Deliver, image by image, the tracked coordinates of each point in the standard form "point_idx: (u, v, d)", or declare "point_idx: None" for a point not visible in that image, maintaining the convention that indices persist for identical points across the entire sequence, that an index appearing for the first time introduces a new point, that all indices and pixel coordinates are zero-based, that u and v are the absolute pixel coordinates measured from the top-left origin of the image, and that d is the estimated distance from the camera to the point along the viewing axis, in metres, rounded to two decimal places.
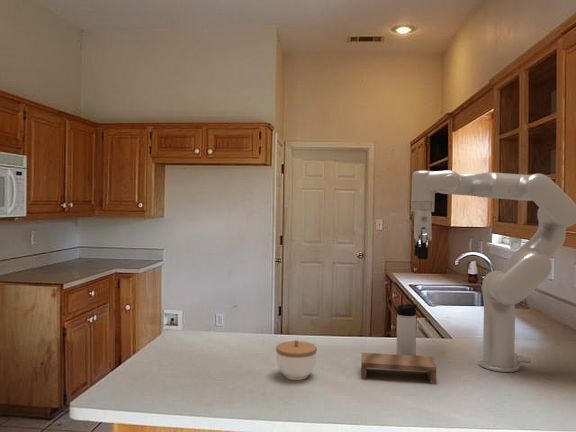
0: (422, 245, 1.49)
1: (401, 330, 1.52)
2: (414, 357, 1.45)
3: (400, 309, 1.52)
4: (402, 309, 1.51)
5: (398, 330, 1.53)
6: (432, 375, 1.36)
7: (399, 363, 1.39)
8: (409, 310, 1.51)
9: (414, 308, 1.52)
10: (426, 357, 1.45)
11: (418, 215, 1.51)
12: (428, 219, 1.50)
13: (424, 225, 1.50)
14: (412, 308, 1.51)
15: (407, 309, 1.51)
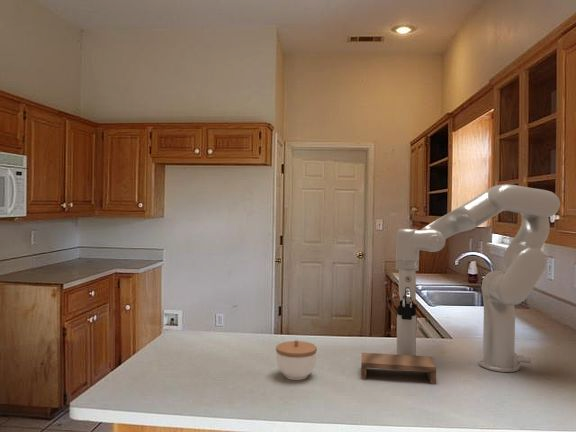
0: (406, 306, 1.48)
1: (401, 330, 1.52)
2: (414, 357, 1.45)
3: (400, 309, 1.52)
4: None
5: (398, 330, 1.53)
6: (432, 375, 1.36)
7: (399, 363, 1.39)
8: None
9: (414, 308, 1.52)
10: (426, 357, 1.45)
11: (402, 275, 1.50)
12: (412, 279, 1.49)
13: (408, 285, 1.49)
14: (412, 308, 1.51)
15: None
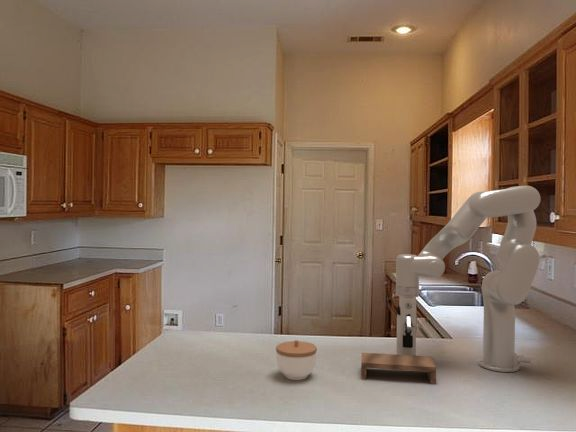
0: (407, 334, 1.49)
1: (401, 330, 1.52)
2: (414, 357, 1.45)
3: None
4: None
5: (398, 330, 1.53)
6: (432, 375, 1.36)
7: (399, 363, 1.39)
8: None
9: None
10: (426, 357, 1.45)
11: (403, 301, 1.50)
12: (413, 306, 1.49)
13: (409, 312, 1.49)
14: None
15: None
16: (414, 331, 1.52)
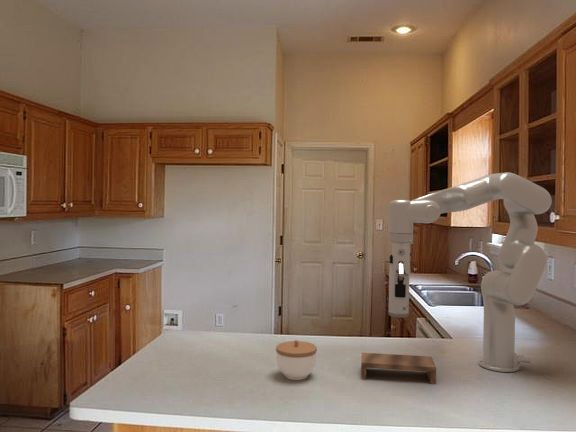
0: (399, 283, 1.40)
1: (393, 279, 1.43)
2: (414, 357, 1.45)
3: (392, 257, 1.44)
4: None
5: (390, 279, 1.44)
6: (432, 375, 1.36)
7: (399, 363, 1.39)
8: None
9: None
10: (426, 357, 1.45)
11: (395, 248, 1.41)
12: (406, 252, 1.40)
13: (401, 259, 1.40)
14: None
15: None
16: (407, 280, 1.43)
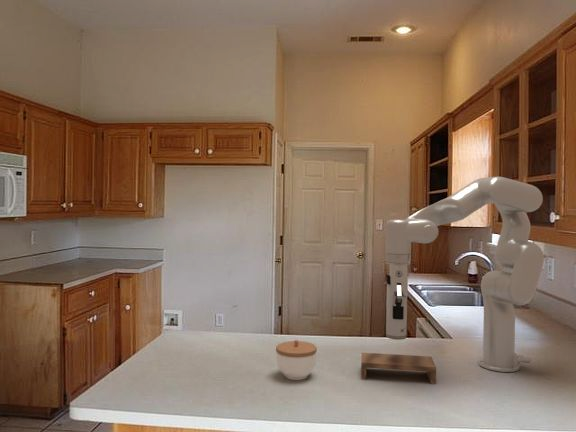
0: (397, 305, 1.38)
1: (391, 301, 1.40)
2: (414, 357, 1.45)
3: None
4: None
5: (388, 301, 1.42)
6: (432, 375, 1.36)
7: (399, 363, 1.39)
8: None
9: None
10: (426, 357, 1.45)
11: (393, 269, 1.38)
12: (403, 274, 1.37)
13: (399, 280, 1.37)
14: None
15: None
16: (405, 302, 1.40)
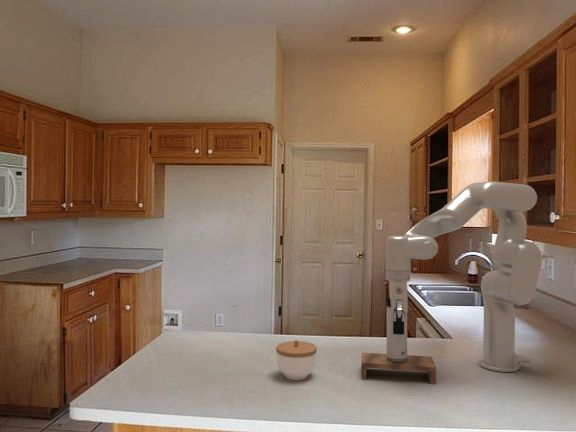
0: (397, 320, 1.36)
1: (391, 323, 1.40)
2: (414, 357, 1.45)
3: (389, 301, 1.41)
4: None
5: (388, 323, 1.42)
6: (432, 375, 1.36)
7: (399, 363, 1.39)
8: None
9: None
10: (426, 357, 1.45)
11: (393, 286, 1.39)
12: (403, 290, 1.38)
13: (399, 297, 1.38)
14: None
15: None
16: (405, 324, 1.40)
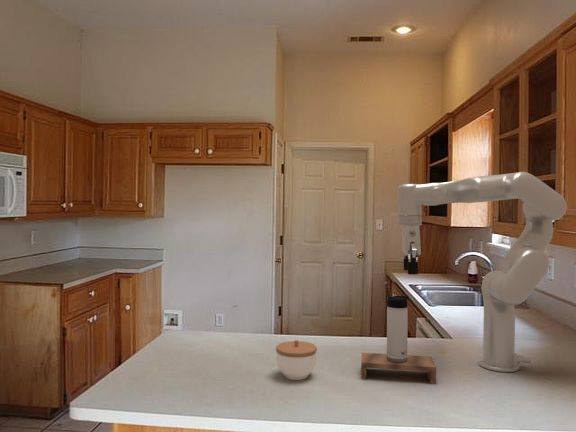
0: (412, 260, 1.46)
1: (391, 323, 1.40)
2: (414, 357, 1.45)
3: (390, 301, 1.41)
4: (392, 301, 1.40)
5: (388, 323, 1.42)
6: (432, 375, 1.36)
7: (399, 363, 1.39)
8: (400, 302, 1.40)
9: (405, 300, 1.40)
10: (426, 357, 1.45)
11: (406, 230, 1.48)
12: (416, 233, 1.47)
13: (413, 240, 1.47)
14: (403, 300, 1.40)
15: (398, 301, 1.40)
16: (405, 324, 1.40)
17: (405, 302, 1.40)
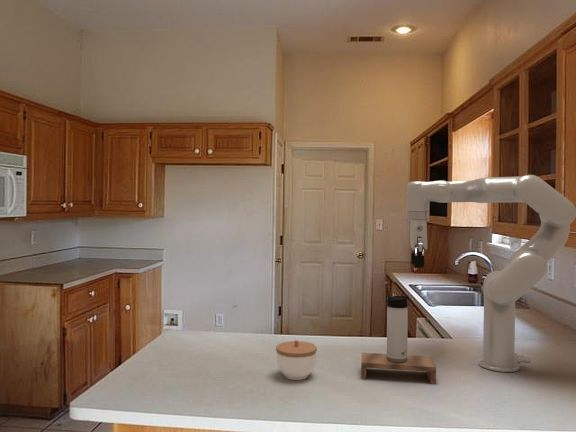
0: (418, 254, 1.53)
1: (392, 323, 1.40)
2: (414, 357, 1.45)
3: (390, 301, 1.41)
4: (392, 301, 1.40)
5: (388, 323, 1.42)
6: (432, 375, 1.36)
7: (399, 363, 1.39)
8: (400, 302, 1.40)
9: (405, 300, 1.40)
10: (426, 357, 1.45)
11: (414, 225, 1.56)
12: (423, 228, 1.55)
13: (420, 234, 1.55)
14: (403, 300, 1.40)
15: (398, 301, 1.40)
16: (405, 324, 1.40)
17: (405, 302, 1.40)
